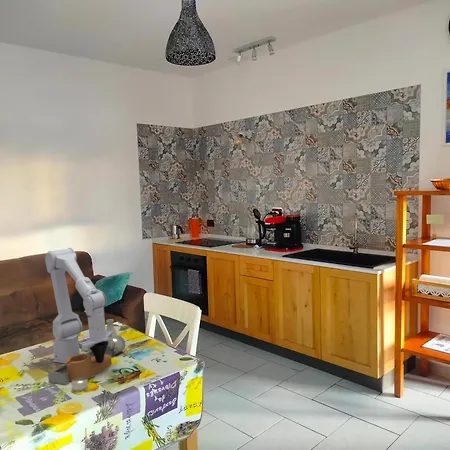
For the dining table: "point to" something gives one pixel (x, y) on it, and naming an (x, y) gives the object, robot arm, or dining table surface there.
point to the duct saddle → (112, 349)
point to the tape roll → (79, 384)
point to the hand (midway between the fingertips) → (99, 362)
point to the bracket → (85, 366)
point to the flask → (110, 327)
